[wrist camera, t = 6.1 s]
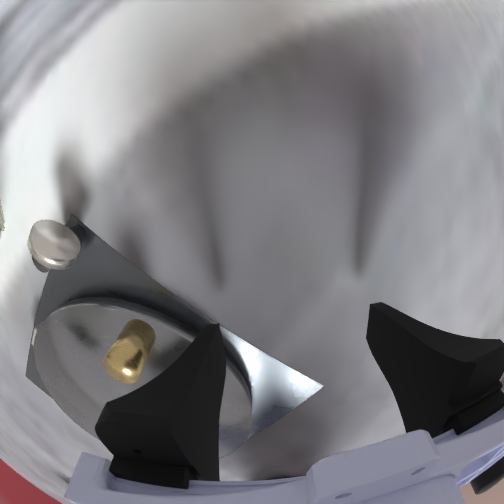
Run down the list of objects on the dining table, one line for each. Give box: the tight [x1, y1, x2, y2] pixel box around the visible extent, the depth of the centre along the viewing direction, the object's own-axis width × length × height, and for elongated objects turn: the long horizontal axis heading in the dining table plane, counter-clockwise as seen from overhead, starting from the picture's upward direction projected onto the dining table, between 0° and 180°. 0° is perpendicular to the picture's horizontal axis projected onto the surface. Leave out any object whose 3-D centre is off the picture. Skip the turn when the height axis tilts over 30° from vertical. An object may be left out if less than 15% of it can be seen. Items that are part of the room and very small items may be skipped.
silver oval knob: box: [27, 220, 86, 272], centre depth 11 cm, size 3×2×4 cm, turn 51°
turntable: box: [31, 297, 253, 458], centre depth 15 cm, size 17×17×4 cm
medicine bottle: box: [470, 456, 504, 494], centre depth 18 cm, size 7×7×12 cm
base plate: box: [26, 213, 323, 440], centre depth 17 cm, size 19×19×1 cm
